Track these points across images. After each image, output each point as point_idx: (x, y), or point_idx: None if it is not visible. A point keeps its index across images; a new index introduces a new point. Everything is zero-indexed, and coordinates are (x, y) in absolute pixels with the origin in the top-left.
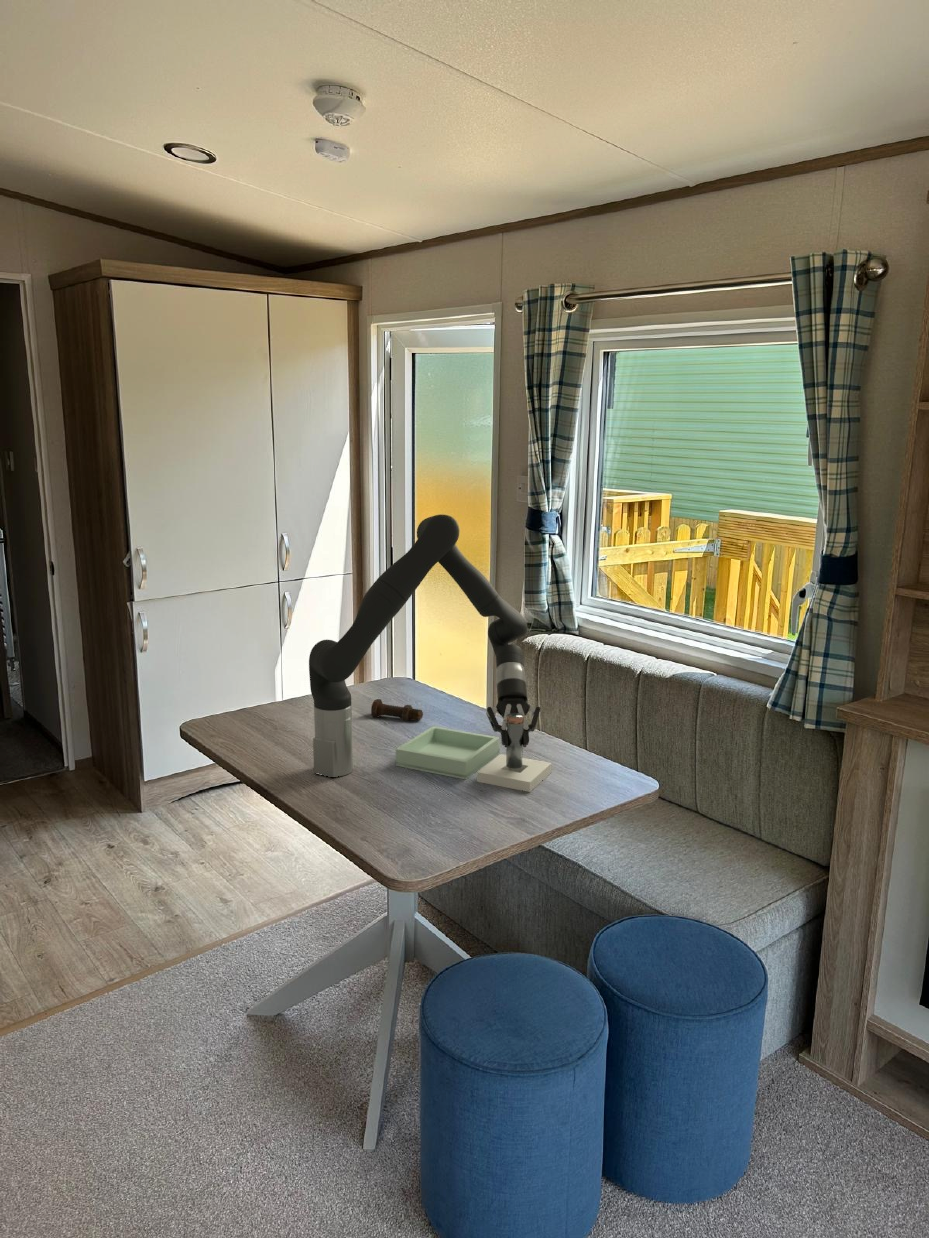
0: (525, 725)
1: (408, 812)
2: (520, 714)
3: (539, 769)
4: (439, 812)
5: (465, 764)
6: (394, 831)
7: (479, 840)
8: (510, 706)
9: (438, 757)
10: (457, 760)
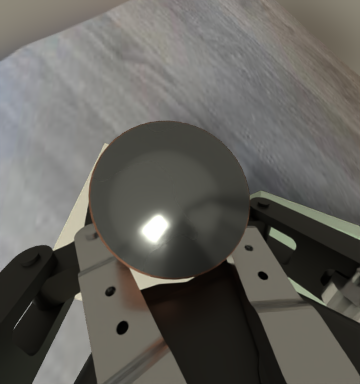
0: (95, 243)
1: (275, 81)
2: (127, 228)
3: (78, 225)
4: (240, 80)
5: (258, 192)
6: (270, 40)
7: (173, 11)
8: (292, 368)
9: (320, 212)
10: (280, 198)
